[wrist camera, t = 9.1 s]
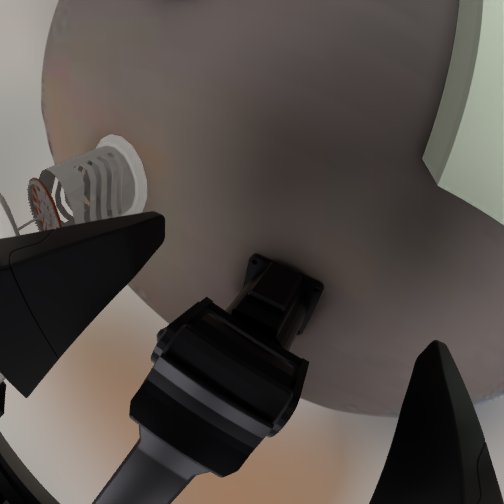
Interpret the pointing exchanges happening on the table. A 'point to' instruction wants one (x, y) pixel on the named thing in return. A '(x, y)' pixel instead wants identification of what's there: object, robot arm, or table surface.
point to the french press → (85, 188)
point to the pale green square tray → (473, 111)
